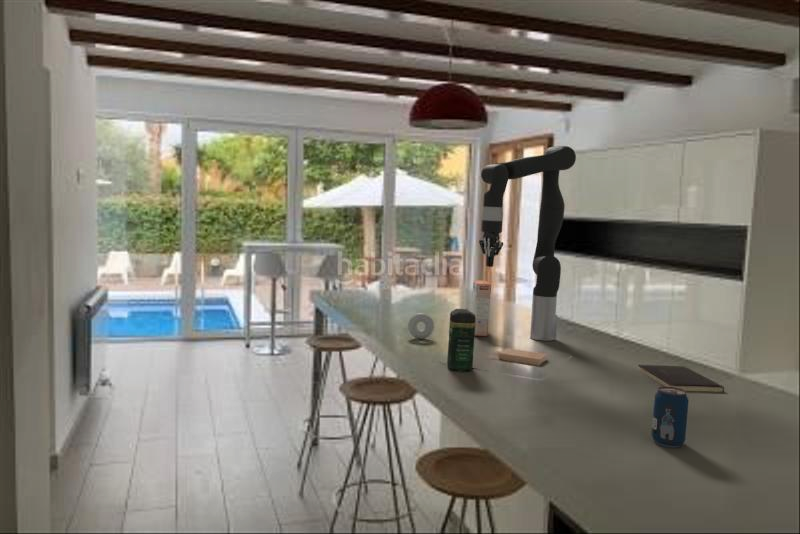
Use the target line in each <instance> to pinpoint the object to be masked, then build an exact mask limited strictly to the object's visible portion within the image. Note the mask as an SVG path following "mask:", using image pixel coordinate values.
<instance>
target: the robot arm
mask: <svg viewBox="0 0 800 534" xmlns="http://www.w3.org/2000/svg"><path fill="white" fill-rule="evenodd" d="M576 159H577V155H576V152H575V150H574V149H573V148H572V147H570V146H568V145H557V146H555V145H554V146H551V147H550V146H549V147H547V149H546V150H545V152H544V154H541V155H535V156H534V155H533V156H525V157H521V158H516V159H512V160H509V161H504V162H497V163H492V164H488V165H485V166H484V167H483V169H482V170H481V173H480V177H481V179H482V181H483V182H484V183H486V184H489V185H490V186H489V190H486V191H485V192H484V194H483V205H482V206H483V208H482V211H481V229H480V230H481V232H482V233H483V234H482V239H479V241H478V242H479V245H480V249H481V252H482V254H483V255H484V256H485V258H486V259H485V260H486V262H485V266H486V267H488V268H491V267H494V263H495V261H494V260H495V256H499V254H500V252H501V249H502V248H503V246H504V242H503V241H502V242H501V240H500V237H501V236H500V234H501V233H502V232H503V220H504V211H503V210H504V209H503V206H504V194H505V191H506V190H507V189H506V188H507V185H508V182H509V180H517V179H521V178H525V177H528V176H529V177H530V176H532V175H537V174H539V173H542V189H541V200H540V207H539V214H538V215H539V216H538V225H537V226H538V227H537V239H536V240H537V242H536V247H535V251H534V255H533V259H532V270H533V272H534V274H535V275H536V283H535V286H534V287H533V289H532V300H531V301H532V302H531V303H532V304H531V317H530V318H531V320H530V333H529V334H530V335H529V338H530V339H532V340H534V341H535V340H536V341H541V342H543V341H545V342H546V341H547V342H548V341H549V342H550V341H554V340H557V330H558V315H557V314H556V313H557V301H558V300H557V299H558V298H557V297H558V291H559V290H560V284H561V283H560V282H561V271H562V265H561V262H560V260H559V259H558V258H557V257H556V256H555V249H556V248H555V246H556V241H557V238H558V236H559V233H560V231H561V228H562V225H563V222H564V216H565V200H564V198H563V195H562V192H561V189H560V185H559V178H560V171H567V170H569V169H571V168H572V167H573V166H574V165H575V163H576V161H577V160H576Z"/></svg>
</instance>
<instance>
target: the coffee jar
mask: <svg viewBox="0 0 800 534" xmlns="http://www.w3.org/2000/svg"><path fill="white" fill-rule="evenodd" d="M475 337H476V336H475V315H474V314H473V313H472V311H470V310H469V309H468V308H455V309H453V310H451V311H450V313H449V328H448V345H447V360H446V361H447V363H446V364H447V367H448V368H449V369H450V370H455V371H458V372H465V371H471V370H473V367H474V366H473V364H474V351H475V350H474V349H475Z"/></svg>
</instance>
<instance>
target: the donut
mask: <svg viewBox="0 0 800 534" xmlns="http://www.w3.org/2000/svg"><path fill="white" fill-rule="evenodd" d="M421 322H422V323H423V324H424V325H425V326H424V328H423V329H422V330H421V329H418V327H417V326H418V324H419V323H421ZM434 329H435V323H434V320H433V318H432V317H431V316H430V315H429V314H427V313H425V312H419V313H416V314H414V315H412V316H411V317H410V318H409V320H408V323H407V330H408V332H409V334H410V336H412V337H413V338H415V339H418V340H419V339H420V340H424V339H427V338H428V337H430V336H431V335H432V333H433V332H434Z"/></svg>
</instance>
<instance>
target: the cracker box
mask: <svg viewBox="0 0 800 534" xmlns="http://www.w3.org/2000/svg"><path fill="white" fill-rule="evenodd" d="M472 287H473V288H472V301H471V312H472V313H473V314H474V315H475V336H474V337H488V334H489V321H490V320H489V319H490V309H491V294H492V293H491V292H492V284H491V283H490V282H488V281H487V280H482V279H481V280H479V279H478V280H477V279H474V280H473V286H472Z"/></svg>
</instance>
